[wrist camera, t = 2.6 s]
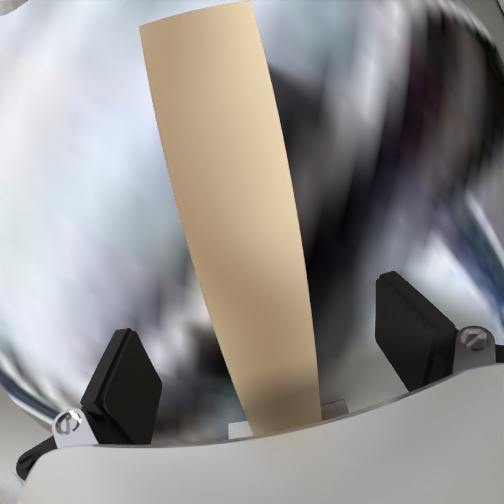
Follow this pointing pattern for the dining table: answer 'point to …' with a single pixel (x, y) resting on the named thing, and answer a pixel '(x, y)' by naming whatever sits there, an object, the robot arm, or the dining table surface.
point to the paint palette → (10, 5)
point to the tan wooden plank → (238, 209)
